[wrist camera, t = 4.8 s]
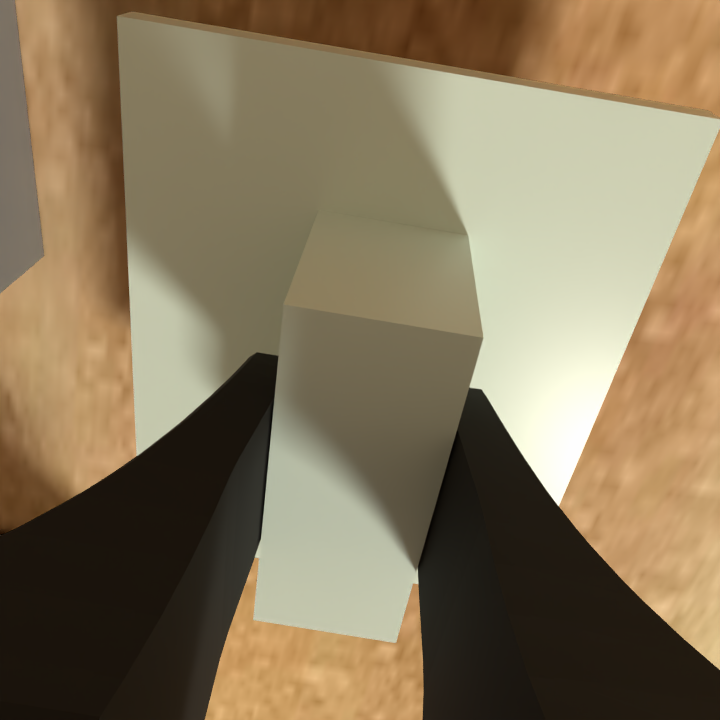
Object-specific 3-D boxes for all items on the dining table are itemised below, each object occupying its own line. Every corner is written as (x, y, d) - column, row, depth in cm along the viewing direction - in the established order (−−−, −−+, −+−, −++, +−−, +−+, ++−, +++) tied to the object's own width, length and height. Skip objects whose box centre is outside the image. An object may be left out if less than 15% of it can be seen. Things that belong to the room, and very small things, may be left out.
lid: (512, 552, 16) (539, 744, 13) (160, 495, 16) (79, 670, 12) (690, 99, 11) (841, 194, 7) (150, 6, 11) (-7, 50, 7)
